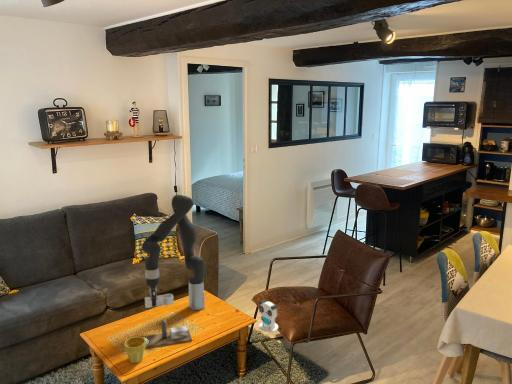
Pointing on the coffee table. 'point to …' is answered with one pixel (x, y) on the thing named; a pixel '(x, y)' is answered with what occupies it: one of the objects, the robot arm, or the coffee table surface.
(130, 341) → the plant pot
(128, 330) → the coffee table surface
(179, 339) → the hinge base
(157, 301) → the hinge leaf
